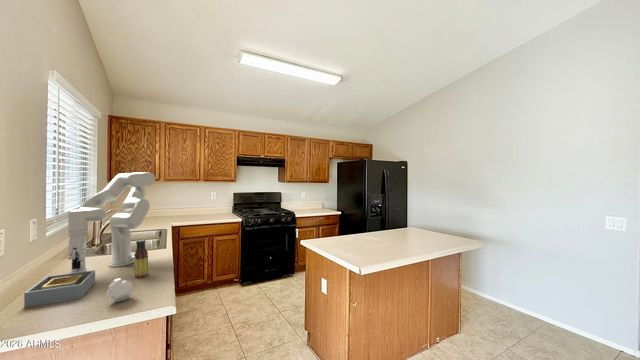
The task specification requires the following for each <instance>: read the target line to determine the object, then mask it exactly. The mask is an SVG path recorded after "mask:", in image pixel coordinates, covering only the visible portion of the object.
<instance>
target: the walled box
mask: <svg viewBox="0 0 640 360" xmlns="http://www.w3.org/2000/svg"><path fill="white" fill-rule="evenodd" d="M82 274H83V281H82V282H81V284H79V285H72V286H65V287H58V288H51V289H44V290H41V287H42V286H44V285H45V284H46V283H47V282H49V281H50V280H51V279H53V278H59V277H67V276H75V275H82ZM95 283H96V270H94V269H93V270H87V271H86V272H78V273H64V274H55V275H47V276H45V278H42V279H41V280H40V281H39V282H37V283H36V284H35V285H33V286H32V287H30V288H29V289H28V290H26V291H25V292H23V293H24V295H23V300H24V308H29V307H28V306H30V307H34V306H42V305H48V304H54V303H60V302H64V301H72V300H78V299H82V298H83V297H84V295H86V294H87V292H88V291H89V290H90V289H91V288H92V286H93V285H94V284H95Z"/></svg>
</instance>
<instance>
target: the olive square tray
mask: <svg viewBox="0 0 640 360" xmlns="http://www.w3.org/2000/svg"><path fill="white" fill-rule="evenodd" d="M82 281H83V274H82V275H75V276H67V277H59V278H53V279H51V280H50V281H49V282H47V283H46V284H45V285H44V286H42V287H41V290H44V289H51V288H58V287H65V286H72V285H79V284H81V282H82Z"/></svg>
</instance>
